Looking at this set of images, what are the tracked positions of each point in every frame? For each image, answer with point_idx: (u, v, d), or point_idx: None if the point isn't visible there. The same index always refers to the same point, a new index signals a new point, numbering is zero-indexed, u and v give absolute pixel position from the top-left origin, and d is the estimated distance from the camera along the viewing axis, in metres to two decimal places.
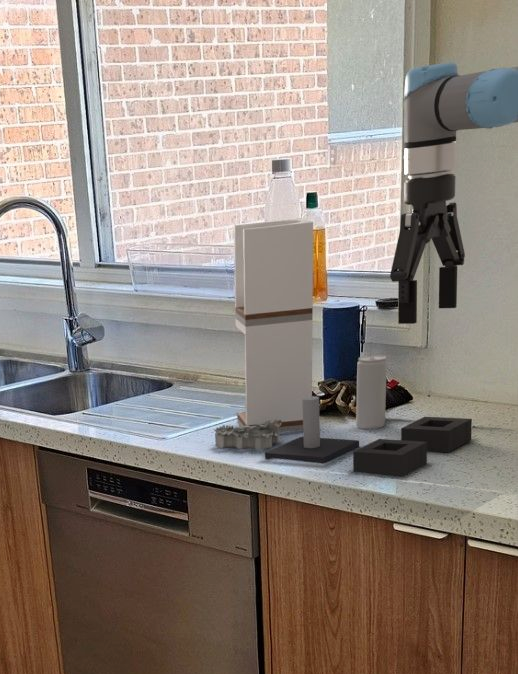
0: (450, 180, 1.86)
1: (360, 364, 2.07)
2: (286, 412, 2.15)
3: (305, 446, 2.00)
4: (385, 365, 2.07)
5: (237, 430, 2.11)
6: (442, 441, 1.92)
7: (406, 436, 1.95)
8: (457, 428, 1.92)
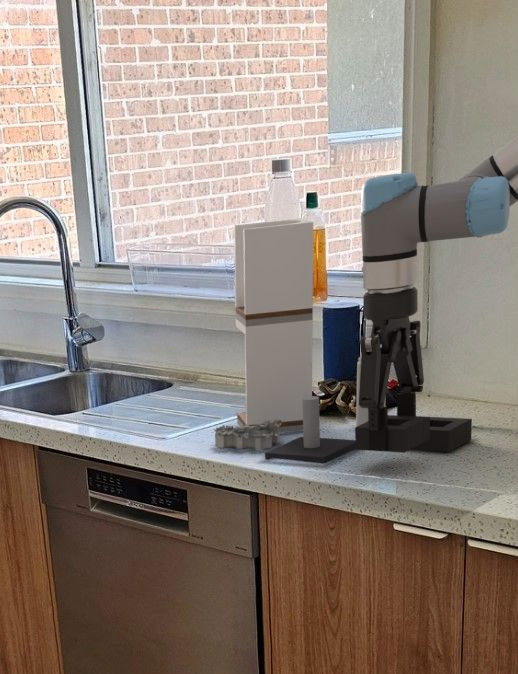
0: (412, 296, 1.74)
1: (360, 364, 2.07)
2: (286, 412, 2.15)
3: (305, 446, 2.00)
4: None
5: (237, 430, 2.11)
6: (442, 441, 1.92)
7: None
8: (457, 428, 1.92)
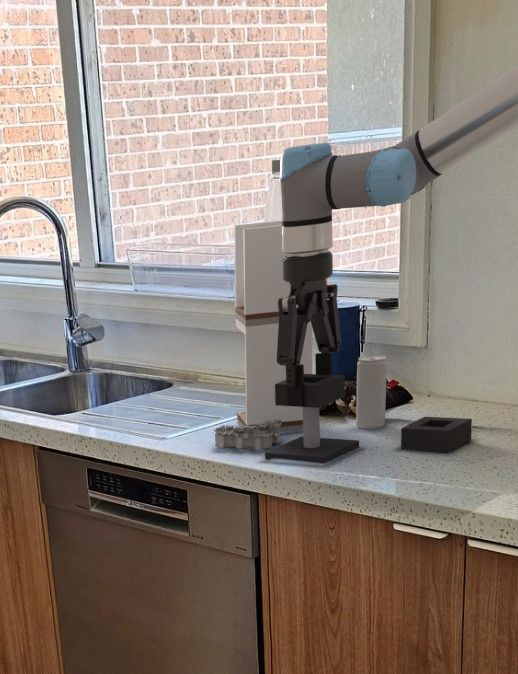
0: (326, 259, 1.86)
1: (360, 364, 2.07)
2: (286, 412, 2.15)
3: (305, 446, 2.00)
4: (385, 365, 2.07)
5: (237, 430, 2.11)
6: (442, 441, 1.92)
7: (406, 436, 1.95)
8: (457, 428, 1.92)
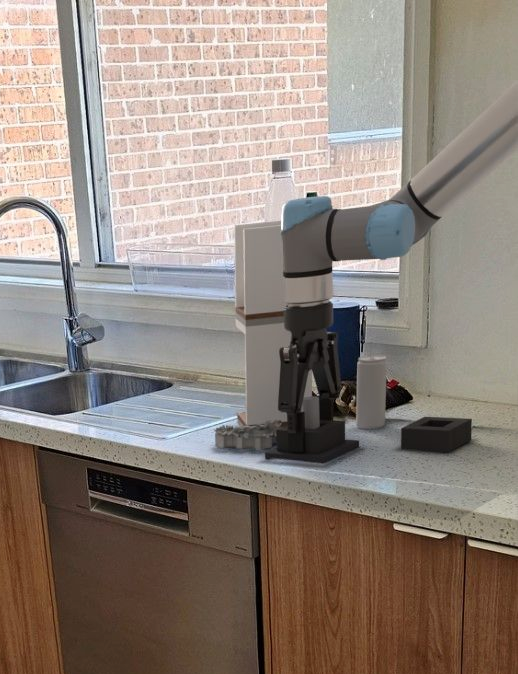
0: (327, 310, 1.89)
1: (360, 364, 2.07)
2: None
3: None
4: (385, 365, 2.07)
5: (237, 430, 2.11)
6: (442, 441, 1.92)
7: (406, 436, 1.95)
8: (457, 428, 1.92)
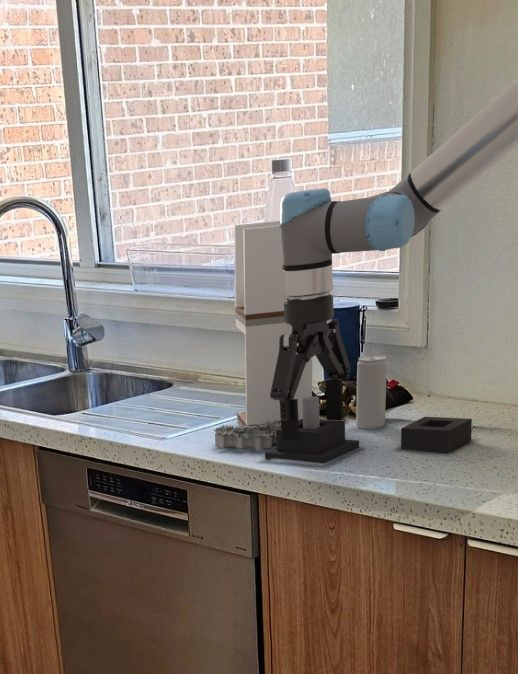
0: (327, 302, 1.88)
1: (360, 364, 2.07)
2: None
3: None
4: (385, 365, 2.07)
5: (237, 430, 2.11)
6: (442, 441, 1.92)
7: (406, 436, 1.95)
8: (457, 428, 1.92)
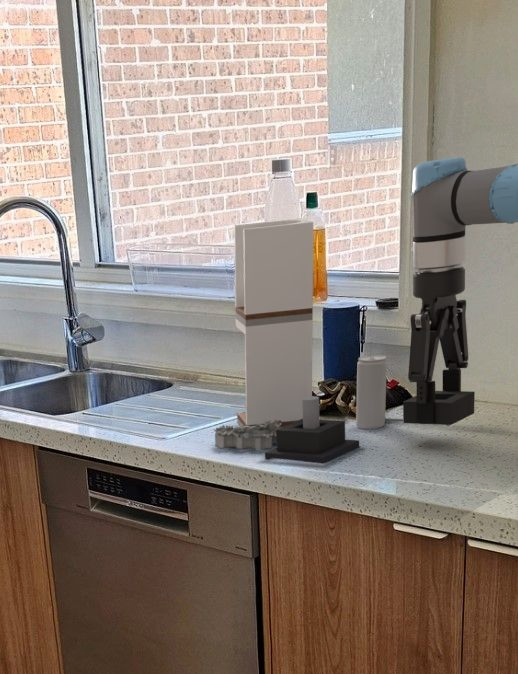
0: (460, 275, 1.83)
1: (360, 364, 2.07)
2: (286, 412, 2.15)
3: None
4: (385, 365, 2.07)
5: (237, 430, 2.11)
6: (445, 413, 1.89)
7: (408, 409, 1.93)
8: (459, 400, 1.90)
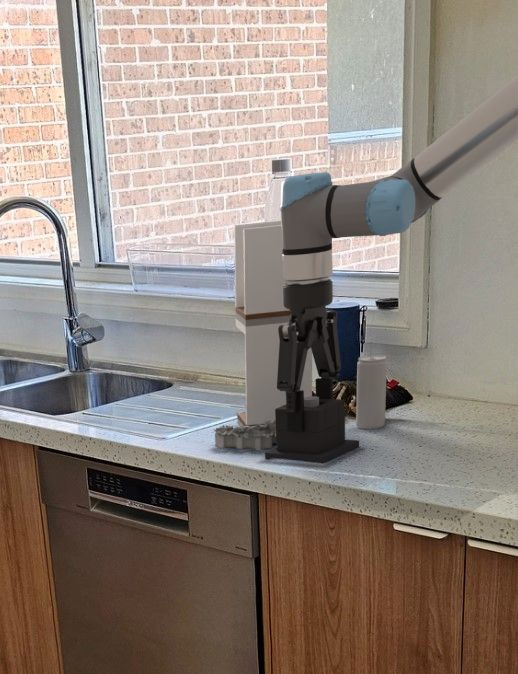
0: (326, 287, 1.88)
1: (360, 364, 2.07)
2: None
3: None
4: (385, 365, 2.07)
5: (237, 430, 2.11)
6: (313, 421, 1.94)
7: (280, 417, 1.98)
8: (328, 408, 1.94)
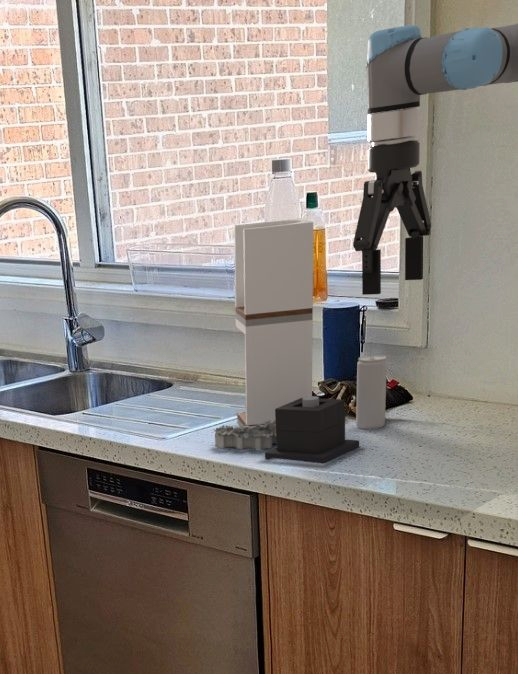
0: (414, 147, 1.82)
1: (360, 364, 2.07)
2: None
3: None
4: (385, 365, 2.07)
5: (237, 430, 2.11)
6: (313, 421, 1.94)
7: (280, 417, 1.98)
8: (328, 408, 1.94)
